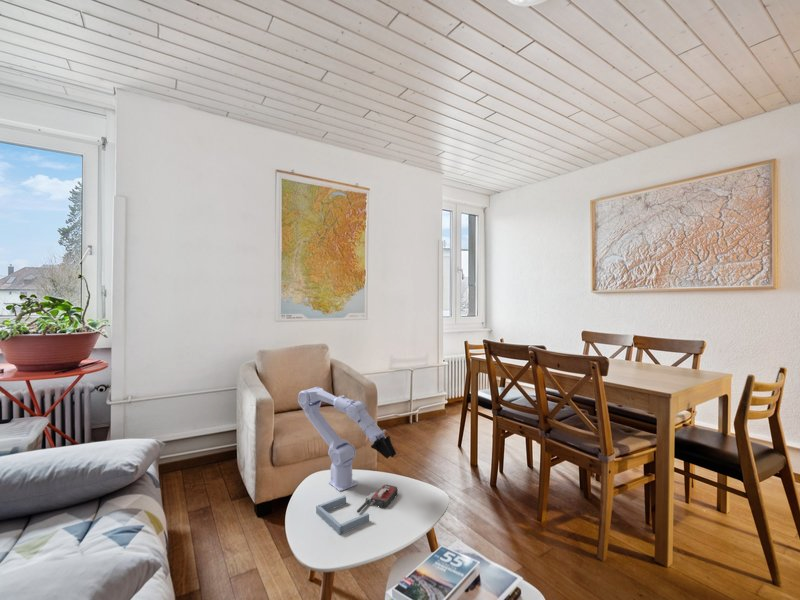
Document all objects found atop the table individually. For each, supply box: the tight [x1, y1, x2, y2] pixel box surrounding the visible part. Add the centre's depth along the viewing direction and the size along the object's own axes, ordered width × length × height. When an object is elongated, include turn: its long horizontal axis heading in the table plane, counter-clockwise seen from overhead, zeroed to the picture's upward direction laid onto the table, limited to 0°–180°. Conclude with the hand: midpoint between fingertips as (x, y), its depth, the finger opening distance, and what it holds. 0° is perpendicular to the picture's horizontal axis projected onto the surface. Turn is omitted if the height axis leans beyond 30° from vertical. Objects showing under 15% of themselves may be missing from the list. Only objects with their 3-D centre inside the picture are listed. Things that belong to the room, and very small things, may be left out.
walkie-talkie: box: [356, 484, 399, 514], centre depth 143 cm, size 9×4×20 cm
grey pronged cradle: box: [315, 494, 370, 536], centre depth 133 cm, size 16×12×2 cm
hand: (391, 456), depth 144 cm, fingers open, 7 cm apart
